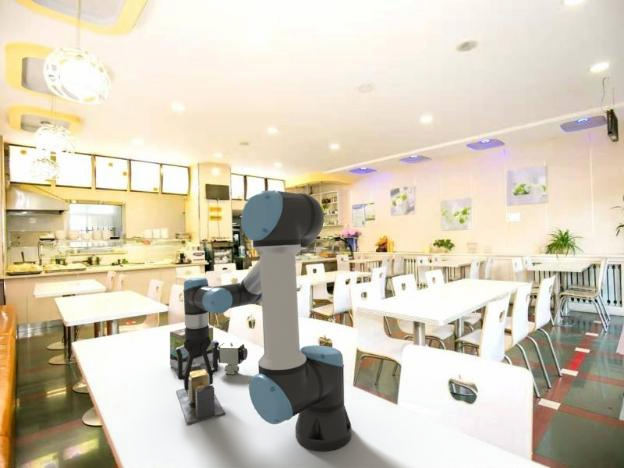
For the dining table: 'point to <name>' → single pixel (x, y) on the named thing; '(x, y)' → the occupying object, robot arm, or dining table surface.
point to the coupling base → (199, 402)
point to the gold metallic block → (198, 381)
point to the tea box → (177, 341)
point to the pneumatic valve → (232, 356)
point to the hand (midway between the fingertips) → (198, 396)
